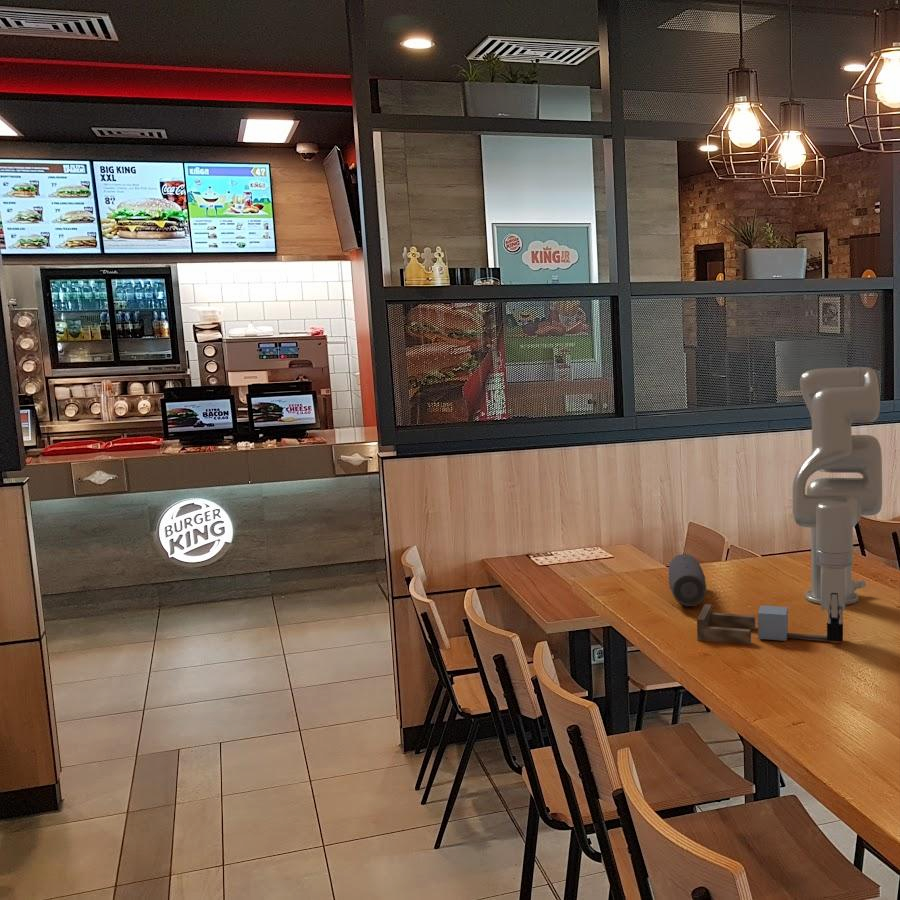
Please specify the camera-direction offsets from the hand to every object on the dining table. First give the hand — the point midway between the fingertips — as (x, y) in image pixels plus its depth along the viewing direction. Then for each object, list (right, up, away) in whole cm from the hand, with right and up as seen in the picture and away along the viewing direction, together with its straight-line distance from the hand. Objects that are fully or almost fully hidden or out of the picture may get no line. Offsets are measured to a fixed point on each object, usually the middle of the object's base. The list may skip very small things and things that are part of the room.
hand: (835, 637), depth 198 cm
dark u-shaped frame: (-20, -1, +9) cm, 23 cm away
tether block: (-6, -1, +3) cm, 7 cm away
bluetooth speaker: (-22, +2, +39) cm, 45 cm away
